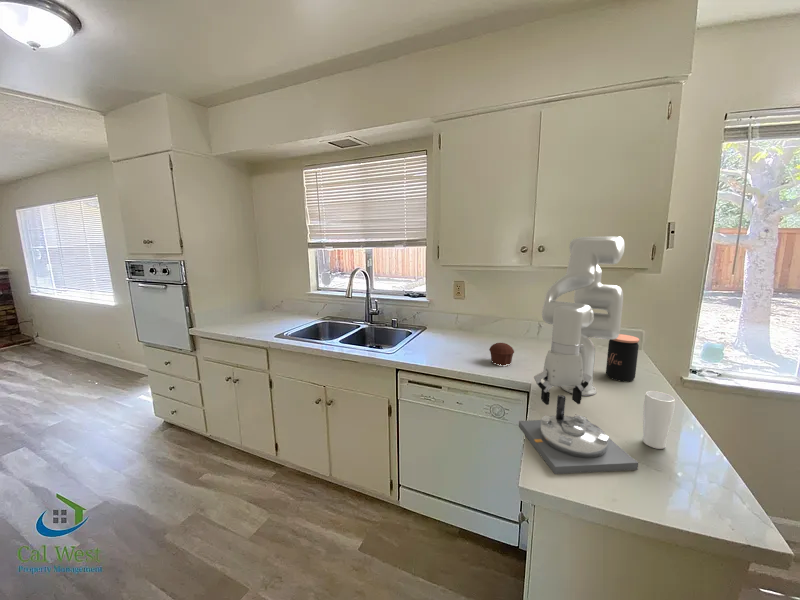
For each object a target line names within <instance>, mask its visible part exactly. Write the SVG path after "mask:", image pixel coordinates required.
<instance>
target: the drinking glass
mask: <svg viewBox="0 0 800 600" xmlns="http://www.w3.org/2000/svg"><path fill="white" fill-rule="evenodd" d="M675 402H676V399H675V398H674V396H672V395H671V394H668V393H666V392H661V391H656V390H648V391H646V392H645V394H644V399H643V411H642V412H643V419H642V421H643V423H642V424H643V425H642V427H643V428H642V442H643V443H644V445H646V446H649V447H650V448H654V449H657V450H662V449H665V448H666V446H667V441H668V435H669V431H670V428H671V424H672V421H673V417H674V414H675V413H674V412H675V407H676V406H675V405H676V403H675Z"/></svg>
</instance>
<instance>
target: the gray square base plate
mask: <svg viewBox="0 0 800 600" xmlns="http://www.w3.org/2000/svg"><path fill="white" fill-rule="evenodd" d="M586 421H588V422H590V423H592V422H591V421H589V420H588V419H587V418H586ZM518 427H519V429H520V430H521V432H522V433H523V434H524V436H525V437H526V439H527V440H528V441H529V443H530V444H531V445H532V446H533V447H534V449H535V450H536V452H537V453H538V454H539V456H542V457H541V458H542V459H543V461H544V460H545V461H544V462H545V463H546V465H547V466H548V467H549V468H550V470H551V471H552V472H553V474H554V475H558V474H562V475H563V474H579V473H598V472H618V471H637V470H639V469H638V468H639V462H638V461H637V460H636V459H635V458H634V457H632V456H631V455H630V454H628V452H626V451H625V450H624V449H623V448H621V446H619V445H618V444H617V443H616V442H615V441H613V440H612V439H611V438H610V437H609V440H608V445H607V451H606V452H605V453H604V454H603V455H601V456H598V457H578V456H573V455H570V454H566V453H563V452H561V451H559V450H557V449H555V448H553V447H551V446H550V445H549V444H547V443H546V442H545V441H544V440H543V438H542V437H541V434H540V429H541V419H534V420H532V419H531V420H519V421H518Z"/></svg>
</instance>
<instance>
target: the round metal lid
mask: <svg viewBox="0 0 800 600" xmlns="http://www.w3.org/2000/svg"><path fill="white" fill-rule="evenodd" d="M556 397H557V399H556V409H555V410H556V413H555V415H550V416H548V415H543V416H542V417H541V419H540V420H541V429H540V434H541V437H542V438H543V440H544V441H545V442H546V443H547V444H549V445H550V446H551V447H553V448H555V449H557V450H559V451H561V452H563V453H566V454H570V455H573V456H578V457H598V456H601V455H603V454H604V453H605V452H606V451H607V445H608V440H609V438H610V436H608V435H607V433H606V432H605V431H604V430H603V429H602V428H601V427H599V426H598V425H596V424H594V423H592V422H591V421H589V420H588V421H589V422H588V421H586V419H587V417H586V416H582V415H580V414H574V415H573V416H569V415H565V411H566V407H565V406H566V396H565V395H562V394H558V395H557V396H556ZM590 422H591V423H590Z"/></svg>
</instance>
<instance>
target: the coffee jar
mask: <svg viewBox="0 0 800 600" xmlns="http://www.w3.org/2000/svg"><path fill="white" fill-rule="evenodd" d="M639 342H640V338H639V337H637V336H633V335H629V334H622V333H619V336H618V337H617V338H616V339H614V340H608V347H607V349H608V350H607V357H606V367H605V374H606V375H608V376H609V377H610V379H611V378H613V379H612V380H614V379H615V381H618V380H620V381H619V382H624V381H629V382H633V381H634V379H636V373H637V365H638V364H637V363H638V356H639V347H640V346H639ZM608 376H607V377H608ZM609 377H608V378H609Z"/></svg>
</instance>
